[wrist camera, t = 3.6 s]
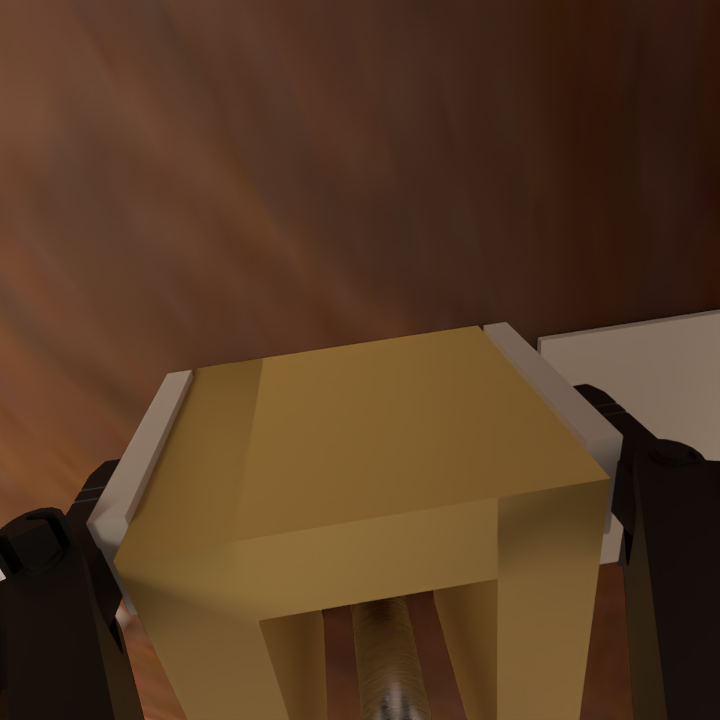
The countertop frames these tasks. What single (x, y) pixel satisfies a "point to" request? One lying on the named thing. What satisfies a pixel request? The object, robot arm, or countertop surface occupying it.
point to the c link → (368, 526)
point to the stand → (388, 662)
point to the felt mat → (650, 380)
